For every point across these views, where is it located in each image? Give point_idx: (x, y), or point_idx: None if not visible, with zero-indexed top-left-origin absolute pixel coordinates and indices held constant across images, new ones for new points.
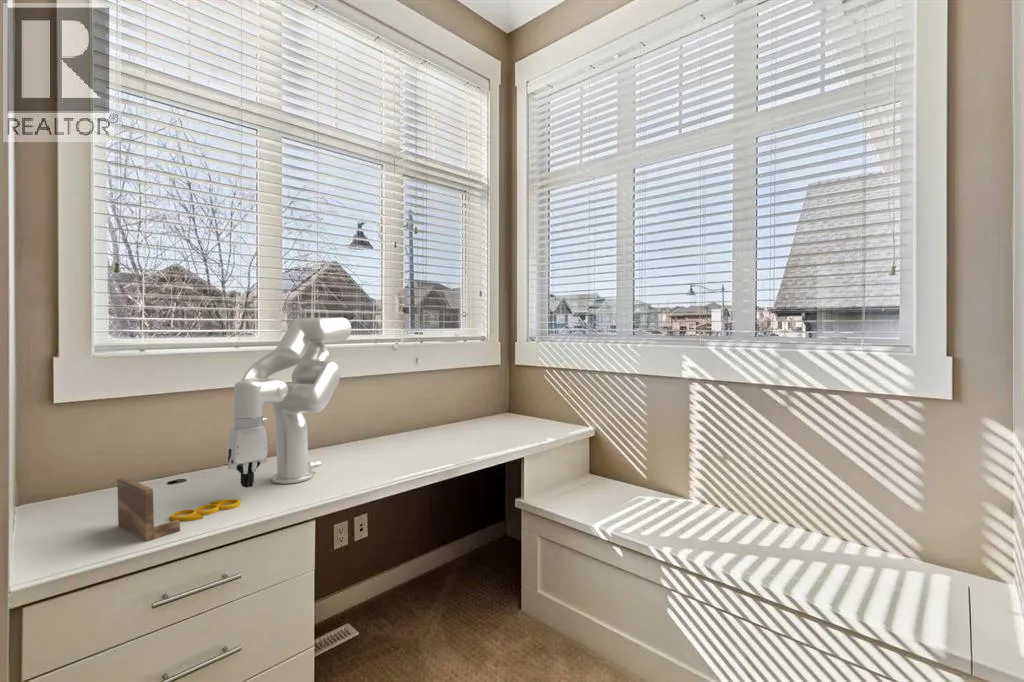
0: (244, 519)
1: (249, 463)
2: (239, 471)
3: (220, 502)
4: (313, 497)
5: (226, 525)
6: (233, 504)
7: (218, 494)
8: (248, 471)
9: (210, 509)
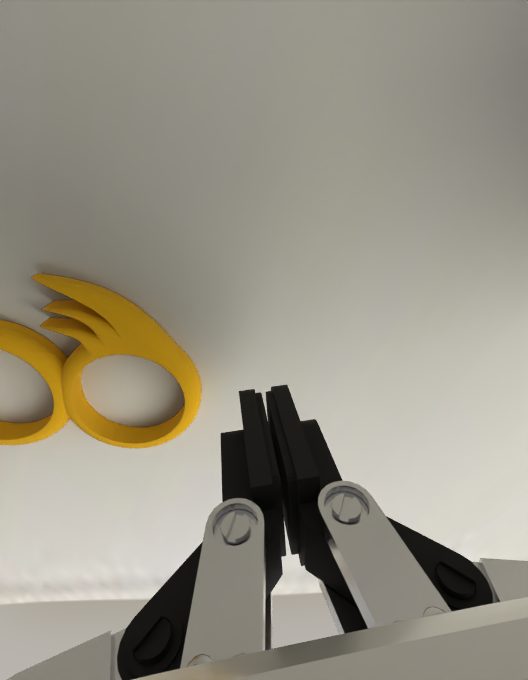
0: (142, 566)
1: (373, 613)
2: (196, 567)
3: (87, 363)
4: (444, 531)
5: (68, 577)
6: (143, 447)
7: (152, 7)
8: (301, 539)
9: (11, 440)
